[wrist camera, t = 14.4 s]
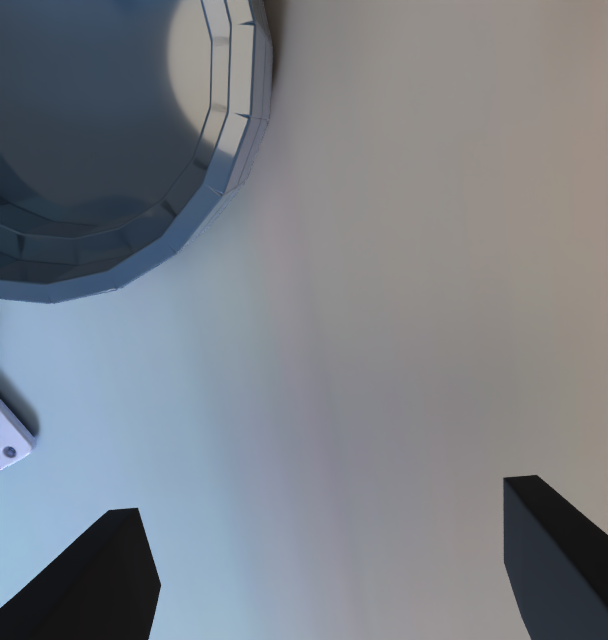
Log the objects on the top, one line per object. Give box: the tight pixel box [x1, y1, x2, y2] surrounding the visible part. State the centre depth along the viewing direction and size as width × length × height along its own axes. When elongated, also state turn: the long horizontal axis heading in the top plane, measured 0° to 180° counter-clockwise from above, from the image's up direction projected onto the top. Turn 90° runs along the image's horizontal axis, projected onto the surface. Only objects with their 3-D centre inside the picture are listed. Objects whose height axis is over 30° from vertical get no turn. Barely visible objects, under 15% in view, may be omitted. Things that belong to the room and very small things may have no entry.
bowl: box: [0, 0, 273, 304], centre depth 14 cm, size 12×12×4 cm
